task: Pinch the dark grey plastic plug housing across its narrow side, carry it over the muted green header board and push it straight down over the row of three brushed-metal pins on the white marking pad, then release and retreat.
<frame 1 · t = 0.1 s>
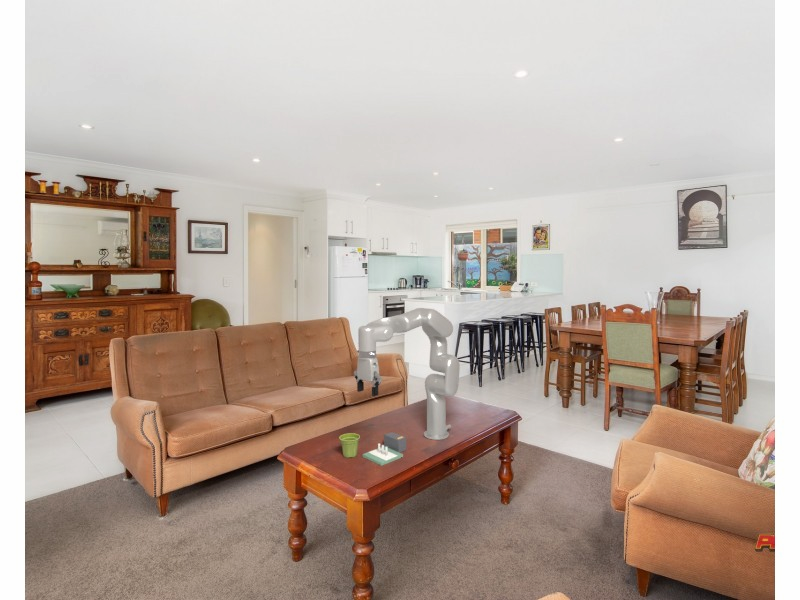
hand: (367, 393, 198), 31 cm above the table, fingers open, 9 cm apart
header board: (382, 456, 207), on the table
plant pot: (349, 455, 209), on the table
plug housing: (395, 448, 216), on the table
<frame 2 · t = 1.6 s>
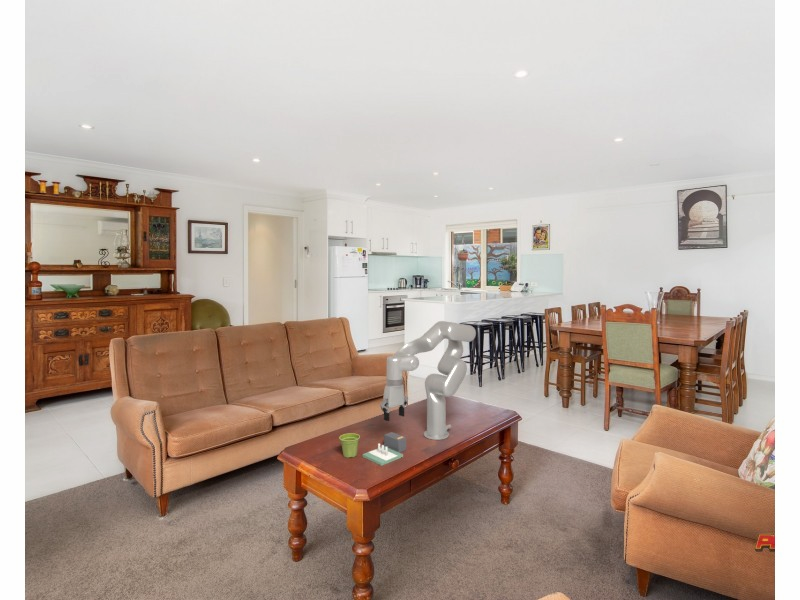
hand: (394, 418, 215), 15 cm above the table, fingers open, 9 cm apart
nothing on the table moved.
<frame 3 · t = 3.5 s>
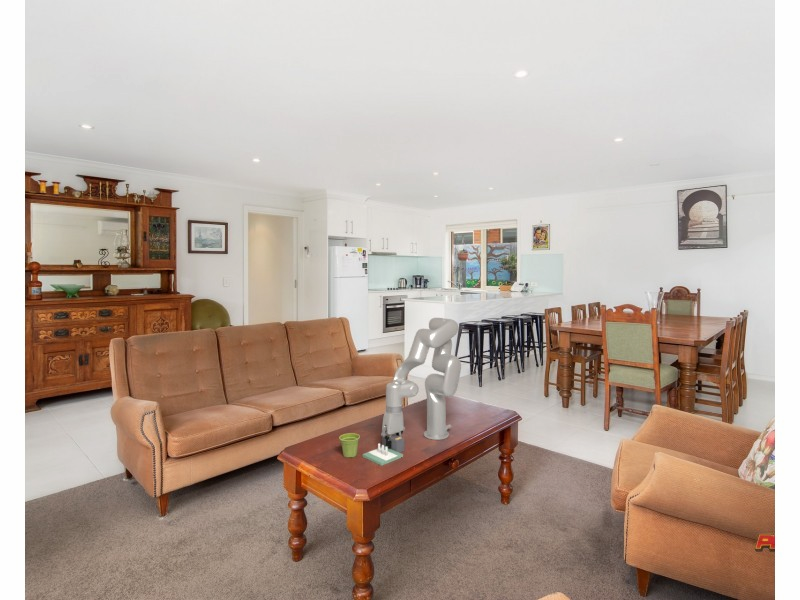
hand: (393, 446, 215), 1 cm above the table, fingers closed on plug housing, 5 cm apart
plug housing: (393, 449, 215), on the table, touching gripper
everything else where it was.
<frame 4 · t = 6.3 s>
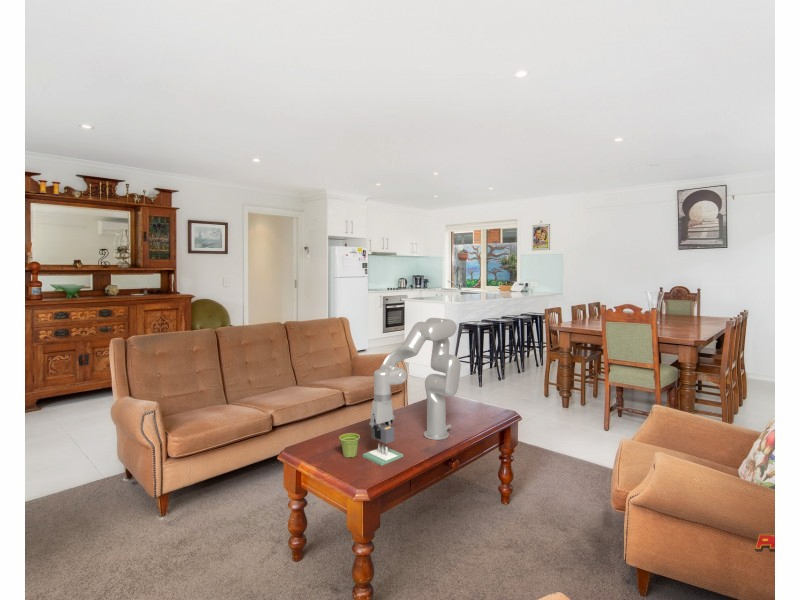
hand: (382, 436, 206), 10 cm above the table, fingers closed on plug housing, 5 cm apart
plug housing: (382, 439, 206), point 8 cm above the table, touching gripper
everything else where it was.
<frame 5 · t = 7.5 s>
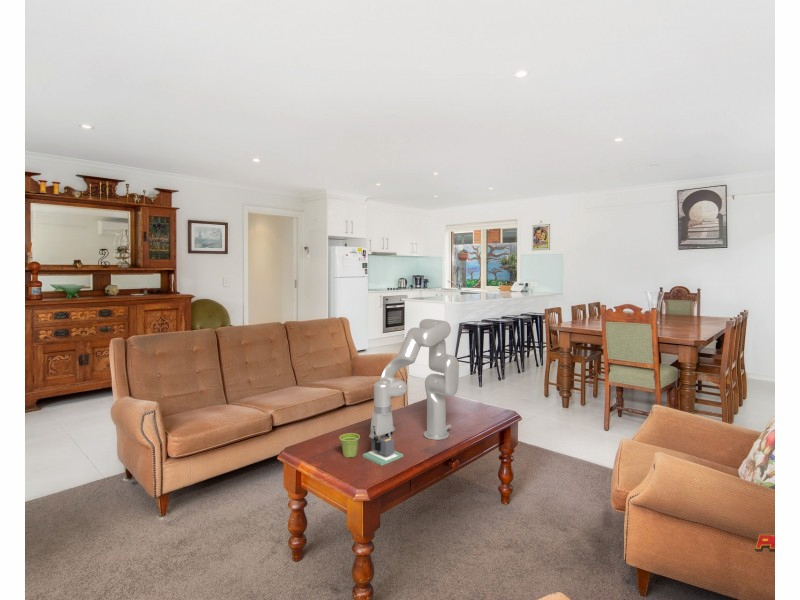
hand: (382, 448, 206), 4 cm above the table, fingers closed on plug housing, 5 cm apart
plug housing: (382, 450, 206), point 3 cm above the table, touching gripper
everything else where it was.
when the fingers open (3 cm above the table, at t = 8.8 s): plug housing stays where it is, resting on header board.
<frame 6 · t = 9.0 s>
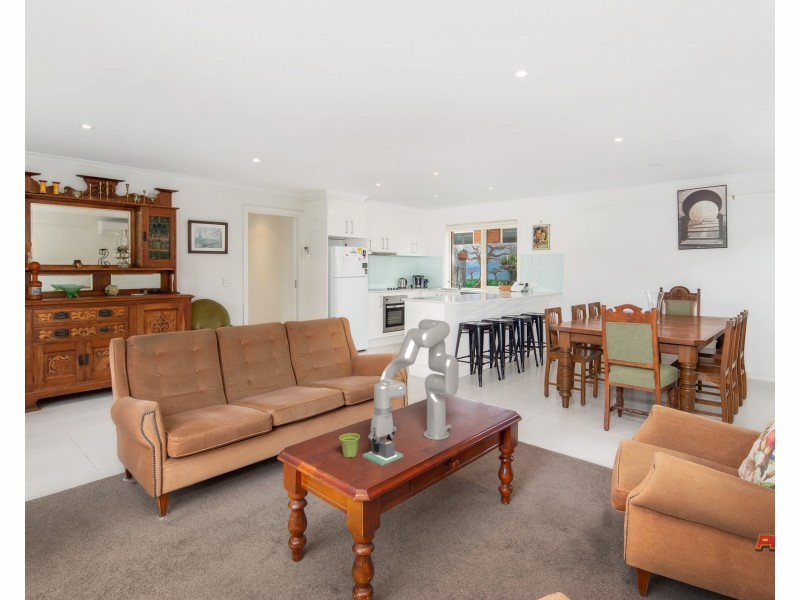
hand: (382, 448, 206), 4 cm above the table, fingers open, 7 cm apart
plug housing: (383, 453, 207), point 1 cm above the table, touching header board
everything else where it was.
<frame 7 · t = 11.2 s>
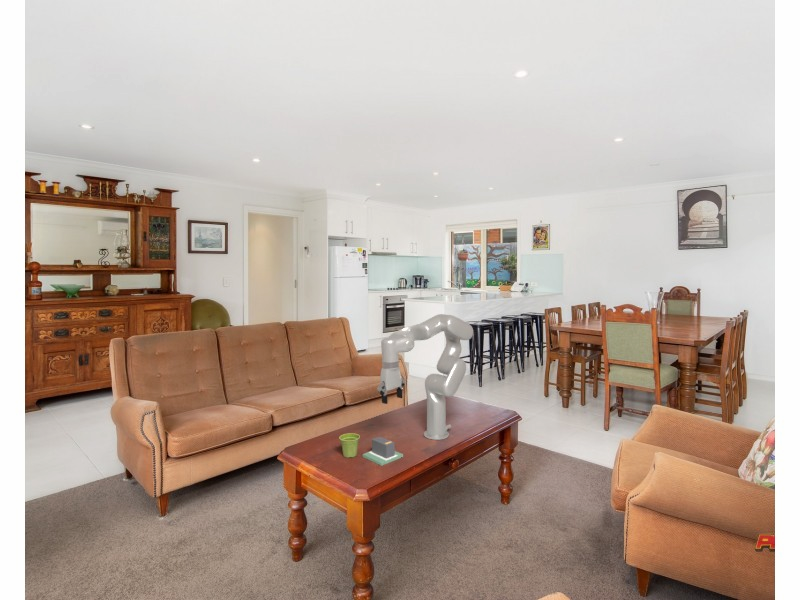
hand: (392, 400, 213), 24 cm above the table, fingers open, 9 cm apart
nothing on the table moved.
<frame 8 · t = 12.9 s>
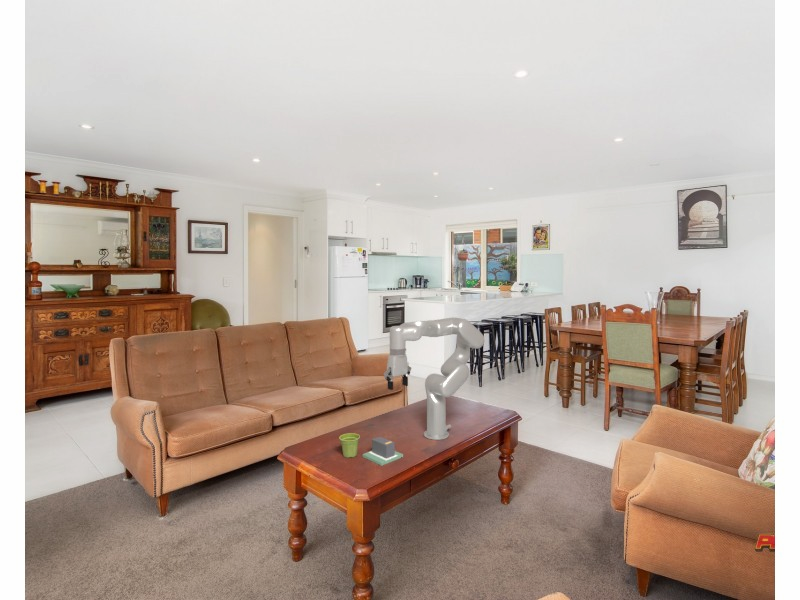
hand: (397, 387, 218), 28 cm above the table, fingers open, 9 cm apart
nothing on the table moved.
at the end: plug housing 0.2 cm off-centre on the header board, point 1.4 cm above the header board's base; plug housing tilted 0°; the gripper is holding nothing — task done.
